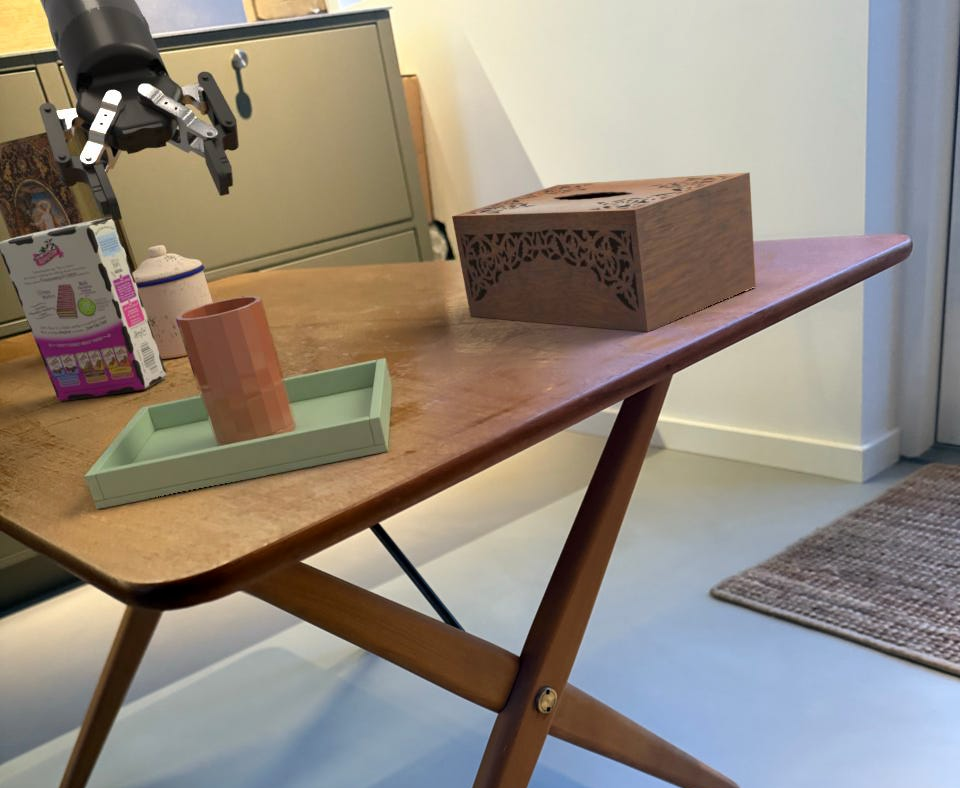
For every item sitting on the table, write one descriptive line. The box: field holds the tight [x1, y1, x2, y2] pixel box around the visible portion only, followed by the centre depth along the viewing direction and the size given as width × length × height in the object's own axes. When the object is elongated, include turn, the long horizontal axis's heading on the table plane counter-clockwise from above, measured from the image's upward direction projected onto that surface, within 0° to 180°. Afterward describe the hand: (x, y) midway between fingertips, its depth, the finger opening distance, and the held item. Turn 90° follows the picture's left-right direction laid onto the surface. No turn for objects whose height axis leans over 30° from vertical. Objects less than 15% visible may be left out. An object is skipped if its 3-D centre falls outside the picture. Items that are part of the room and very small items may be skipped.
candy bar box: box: [0, 217, 168, 402], centre depth 106 cm, size 11×5×16 cm, turn 76°
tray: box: [83, 357, 393, 510], centre depth 81 cm, size 22×18×3 cm
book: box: [0, 126, 139, 273], centre depth 126 cm, size 16×6×25 cm, turn 56°
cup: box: [176, 295, 296, 446], centre depth 79 cm, size 6×6×10 cm
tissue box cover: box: [451, 172, 757, 333], centre depth 100 cm, size 26×14×10 cm, turn 38°
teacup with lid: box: [132, 244, 213, 360], centre depth 119 cm, size 12×9×12 cm
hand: (170, 199), depth 79 cm, fingers open, 8 cm apart
